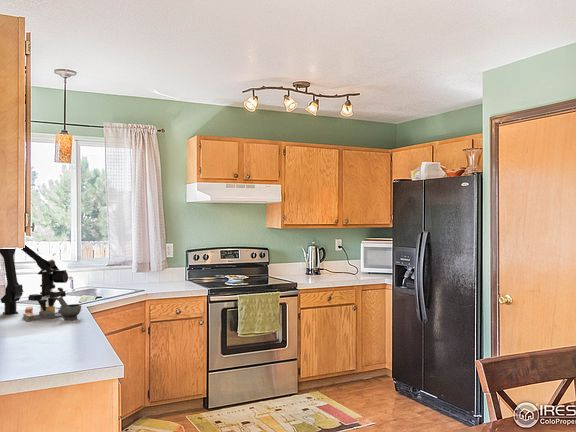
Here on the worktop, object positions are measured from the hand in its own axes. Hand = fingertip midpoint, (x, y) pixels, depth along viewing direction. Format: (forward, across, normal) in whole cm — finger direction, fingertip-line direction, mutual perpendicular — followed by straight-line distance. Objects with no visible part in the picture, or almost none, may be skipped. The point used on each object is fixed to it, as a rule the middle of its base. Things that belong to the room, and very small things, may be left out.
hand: (47, 311), depth 274 cm
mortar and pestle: (+1, -5, -24) cm, 25 cm away
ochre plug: (+1, 0, 0) cm, 1 cm away
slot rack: (+1, -6, -9) cm, 11 cm away
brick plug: (+1, -8, +5) cm, 9 cm away
